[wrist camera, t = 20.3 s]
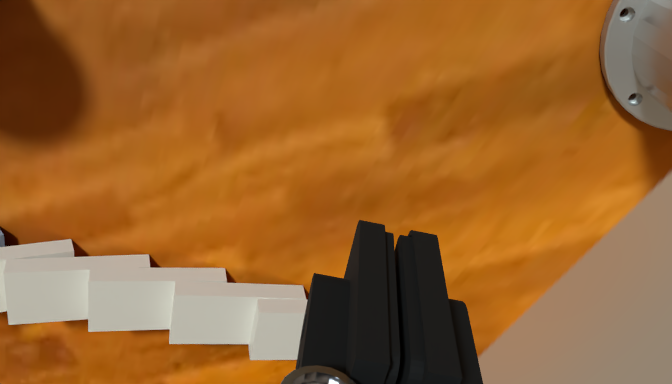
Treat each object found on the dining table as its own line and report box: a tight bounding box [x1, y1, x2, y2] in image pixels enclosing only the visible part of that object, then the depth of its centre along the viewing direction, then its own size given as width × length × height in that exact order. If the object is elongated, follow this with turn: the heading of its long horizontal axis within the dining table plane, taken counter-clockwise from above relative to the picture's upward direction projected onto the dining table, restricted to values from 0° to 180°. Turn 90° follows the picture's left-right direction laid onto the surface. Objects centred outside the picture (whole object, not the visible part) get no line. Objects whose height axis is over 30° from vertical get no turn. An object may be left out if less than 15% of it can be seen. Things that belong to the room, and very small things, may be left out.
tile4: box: [3, 254, 150, 325], centre depth 45 cm, size 2×5×10 cm
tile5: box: [0, 239, 74, 312], centre depth 44 cm, size 2×5×10 cm
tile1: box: [249, 298, 308, 360], centre depth 47 cm, size 2×5×10 cm
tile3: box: [88, 267, 227, 332], centre depth 46 cm, size 2×5×10 cm
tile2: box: [169, 281, 306, 344], centre depth 46 cm, size 2×5×10 cm
